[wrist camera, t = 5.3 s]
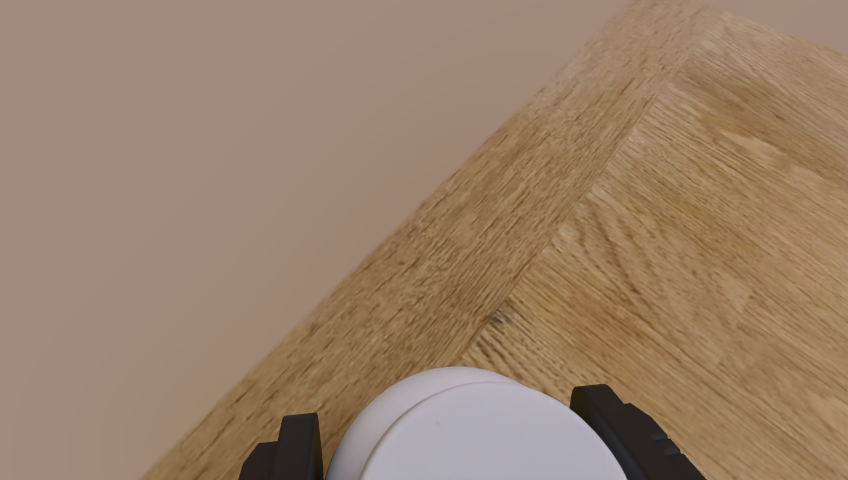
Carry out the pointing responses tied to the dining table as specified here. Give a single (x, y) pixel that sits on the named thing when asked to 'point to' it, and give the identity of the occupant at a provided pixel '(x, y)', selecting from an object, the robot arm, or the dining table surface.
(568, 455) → the pill bottle
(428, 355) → the dining table surface
